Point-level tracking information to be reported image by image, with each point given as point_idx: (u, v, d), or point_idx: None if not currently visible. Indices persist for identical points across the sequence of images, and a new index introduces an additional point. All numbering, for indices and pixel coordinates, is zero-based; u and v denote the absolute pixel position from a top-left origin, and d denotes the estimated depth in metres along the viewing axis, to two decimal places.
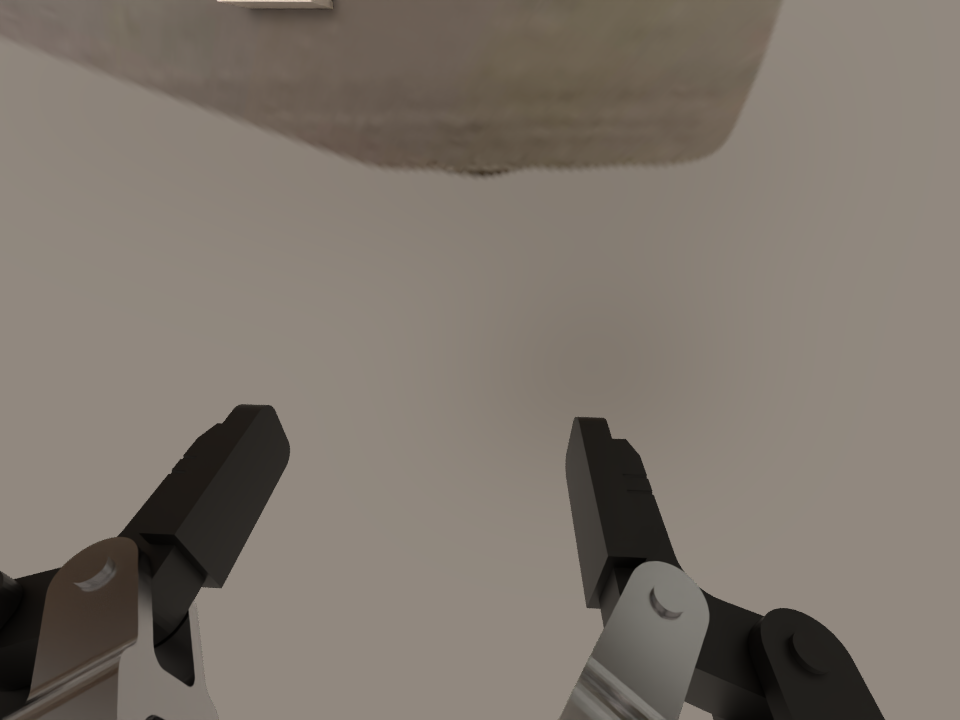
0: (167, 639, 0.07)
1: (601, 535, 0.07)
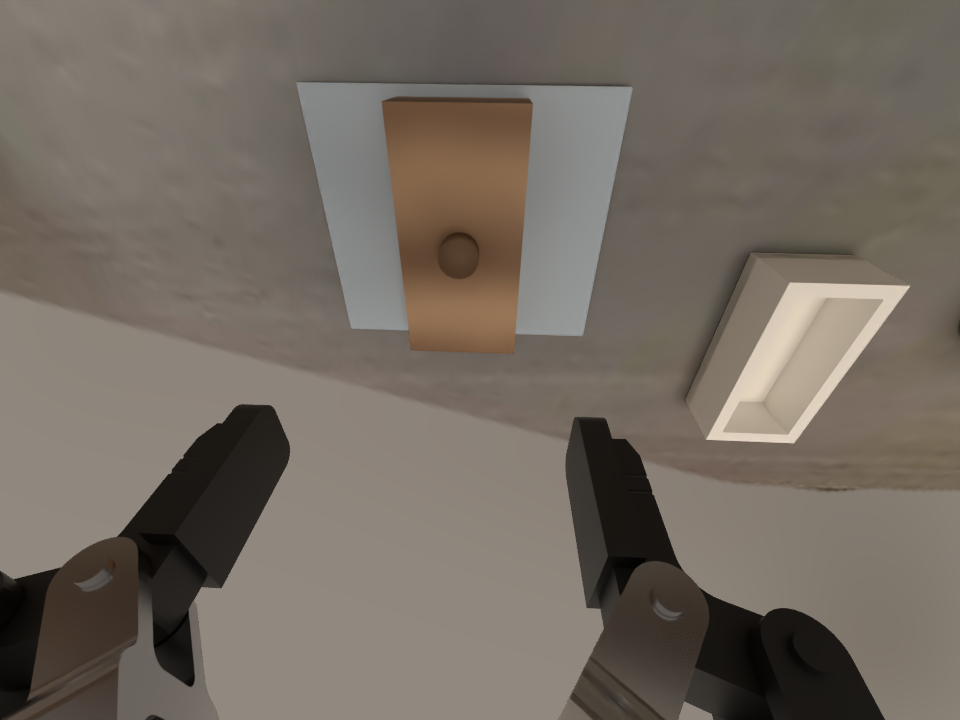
0: (167, 639, 0.07)
1: (600, 535, 0.07)
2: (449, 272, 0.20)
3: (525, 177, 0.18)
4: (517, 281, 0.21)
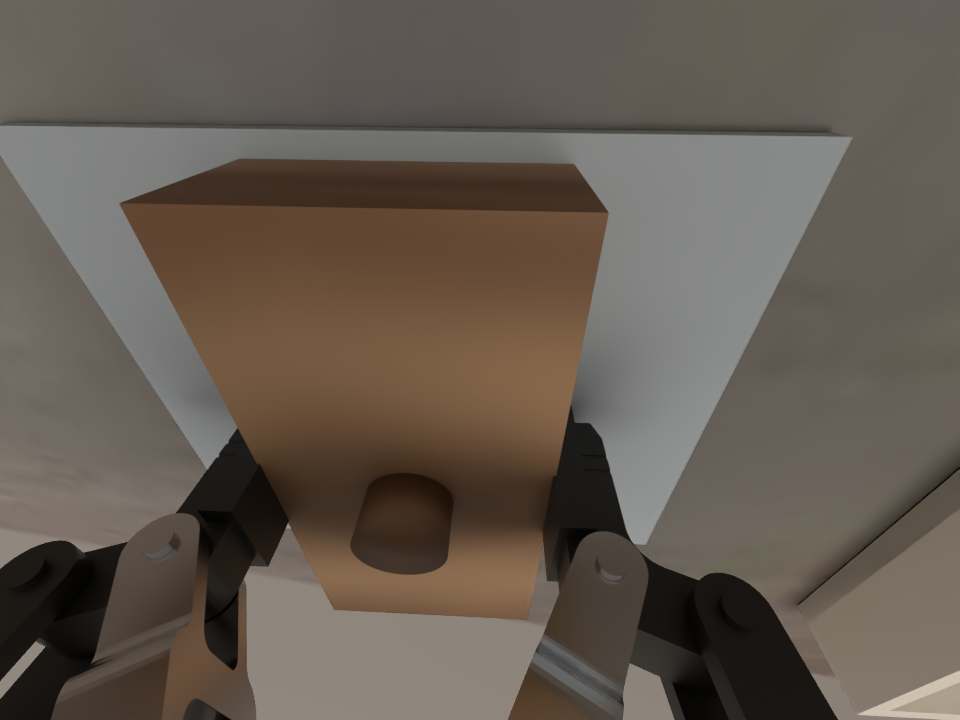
0: (217, 616, 0.08)
1: (555, 509, 0.08)
2: (381, 566, 0.08)
3: (569, 384, 0.07)
4: (538, 542, 0.10)
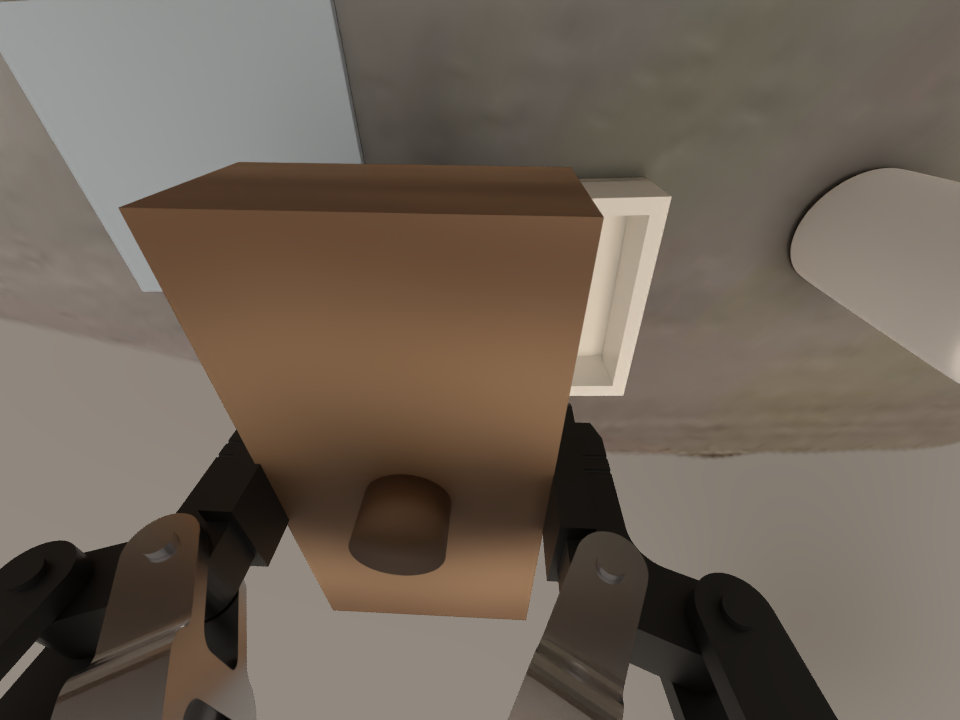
0: (217, 616, 0.08)
1: (556, 509, 0.08)
2: (380, 567, 0.09)
3: (565, 386, 0.07)
4: (536, 543, 0.10)
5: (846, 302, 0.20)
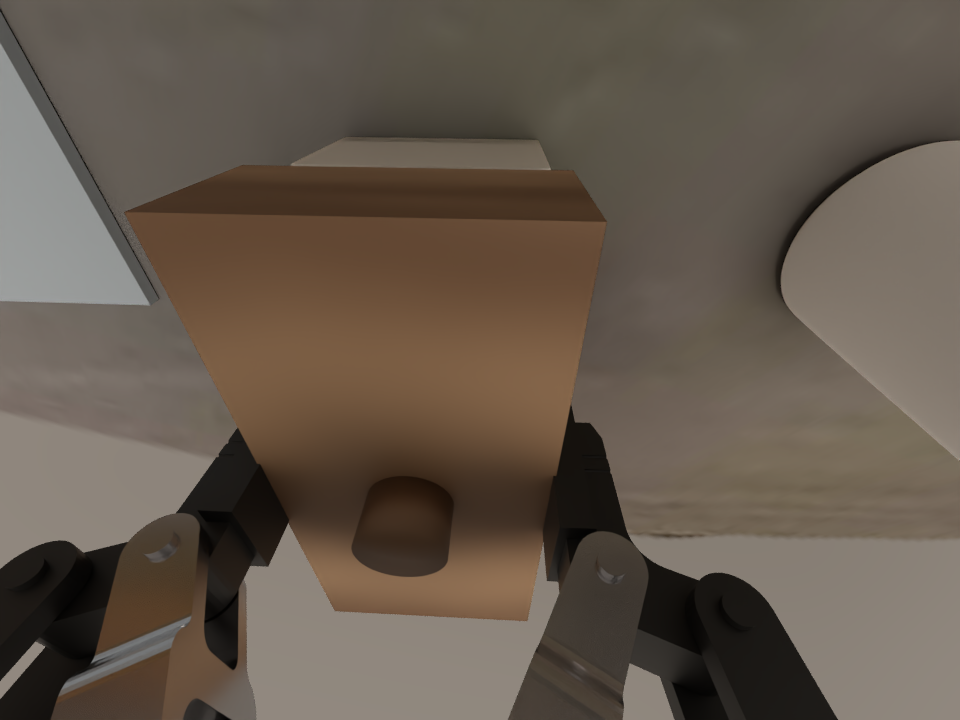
0: (217, 616, 0.08)
1: (555, 509, 0.08)
2: (382, 568, 0.09)
3: (568, 389, 0.07)
4: (538, 545, 0.10)
5: (873, 377, 0.11)
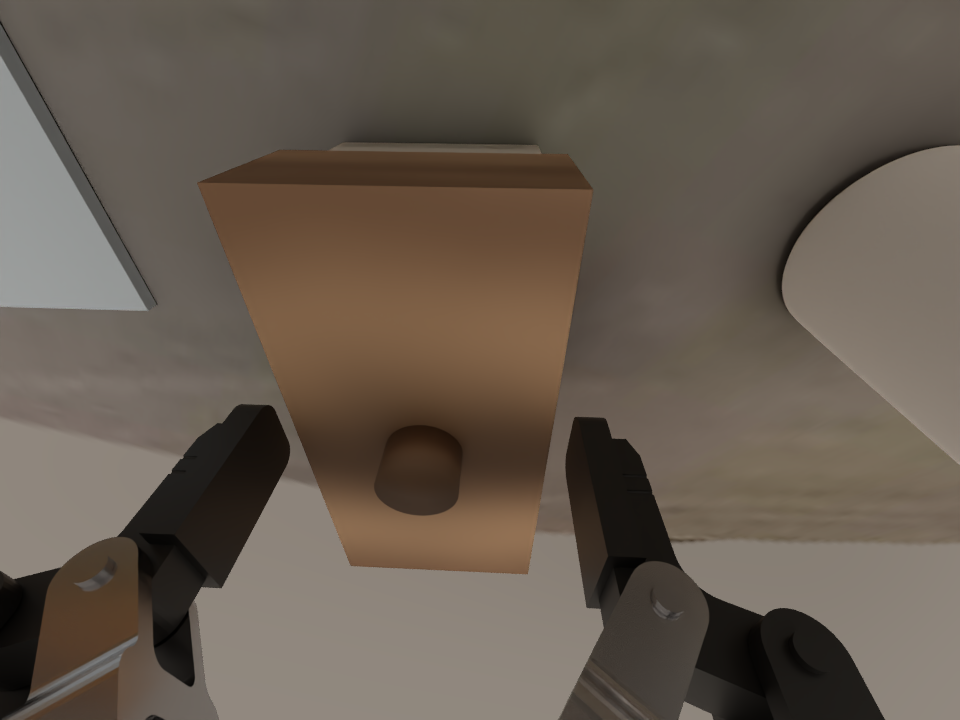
0: (167, 639, 0.07)
1: (600, 535, 0.07)
2: (400, 507, 0.10)
3: (563, 339, 0.08)
4: (537, 493, 0.11)
5: (876, 383, 0.11)
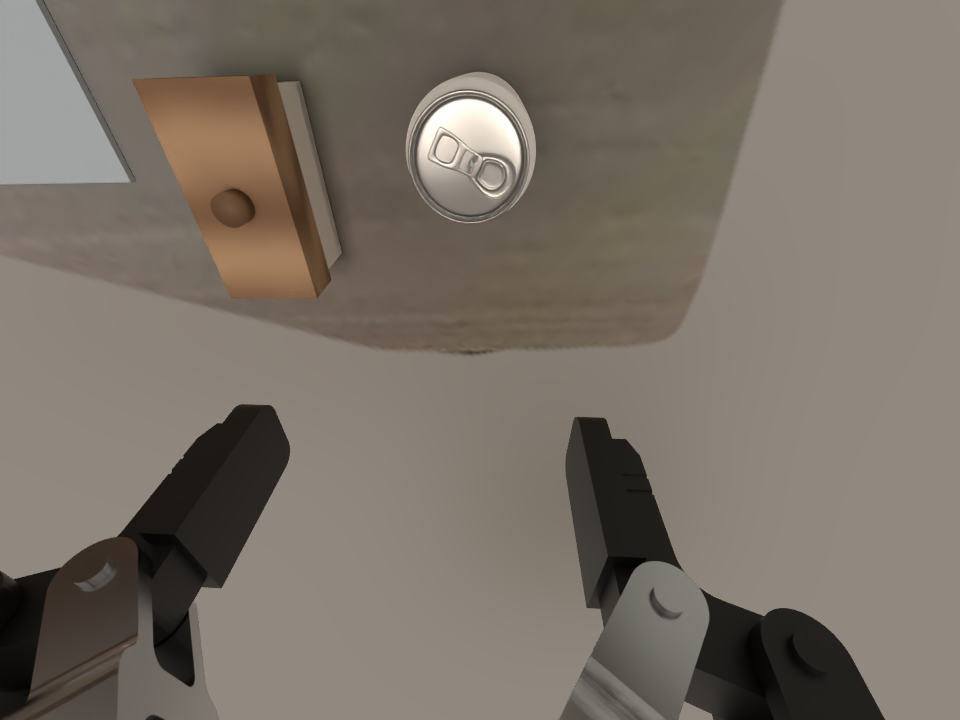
0: (167, 639, 0.07)
1: (600, 535, 0.07)
2: (225, 222, 0.24)
3: (266, 138, 0.22)
4: (294, 230, 0.25)
5: None
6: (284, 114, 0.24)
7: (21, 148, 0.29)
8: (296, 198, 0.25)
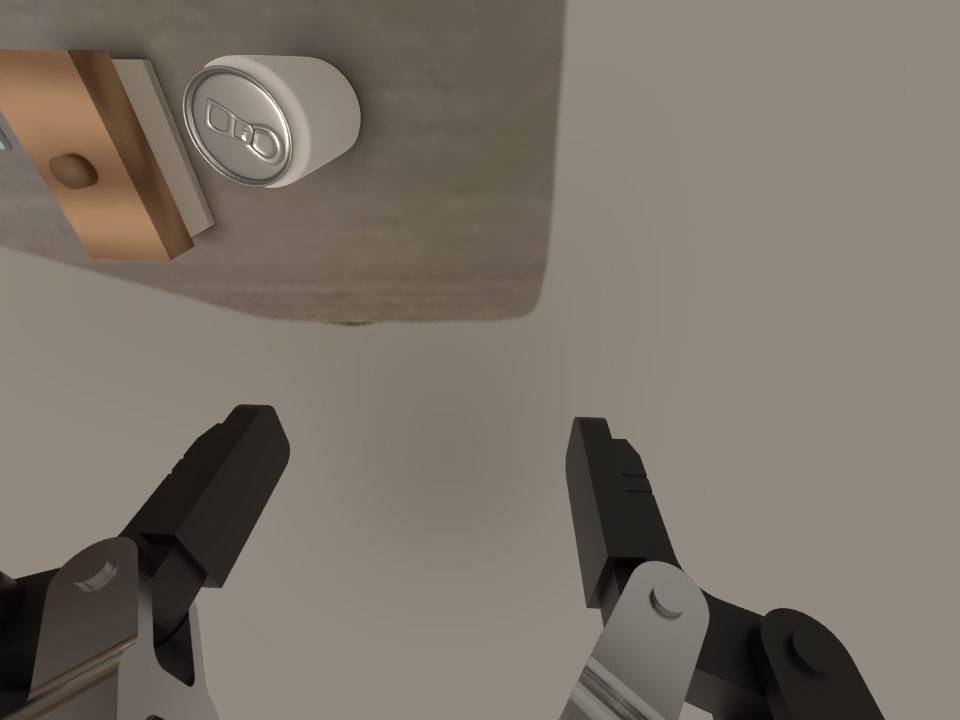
0: (167, 639, 0.07)
1: (601, 535, 0.07)
2: (65, 183, 0.27)
3: (94, 107, 0.25)
4: (137, 195, 0.28)
5: None
6: (121, 87, 0.26)
7: None
8: (139, 165, 0.28)
